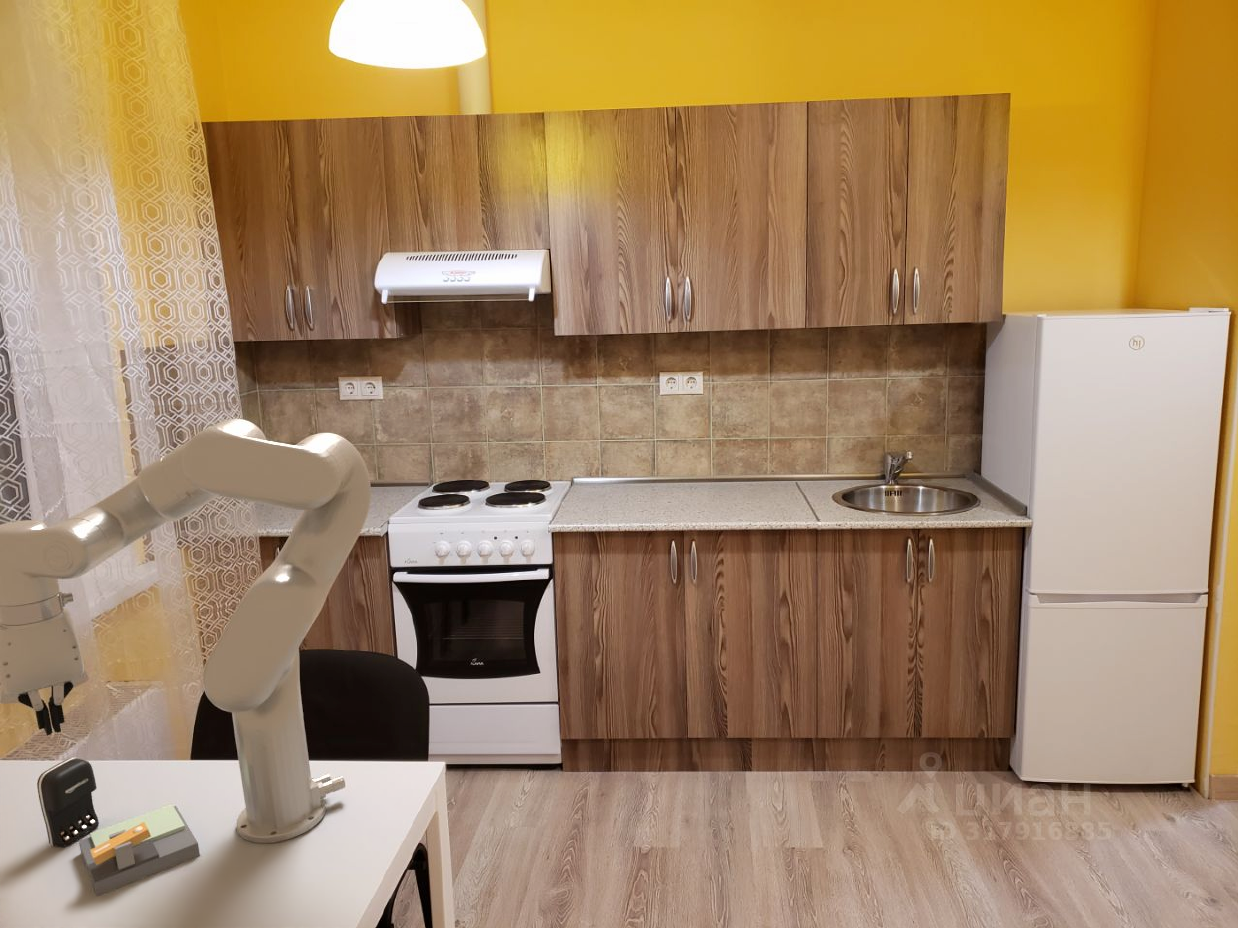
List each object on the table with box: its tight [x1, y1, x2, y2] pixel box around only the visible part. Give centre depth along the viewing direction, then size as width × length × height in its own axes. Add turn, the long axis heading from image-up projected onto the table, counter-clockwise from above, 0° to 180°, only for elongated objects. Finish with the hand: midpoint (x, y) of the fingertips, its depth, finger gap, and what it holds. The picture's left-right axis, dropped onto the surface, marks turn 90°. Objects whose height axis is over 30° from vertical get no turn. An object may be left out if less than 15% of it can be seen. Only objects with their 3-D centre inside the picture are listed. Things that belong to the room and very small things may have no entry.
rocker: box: [90, 822, 151, 865], centre depth 127 cm, size 7×2×1 cm, turn 127°
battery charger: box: [36, 757, 100, 848], centre depth 137 cm, size 7×4×11 cm, turn 157°
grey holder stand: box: [78, 803, 201, 897], centre depth 132 cm, size 13×12×6 cm
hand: (52, 729), depth 134 cm, fingers closed
